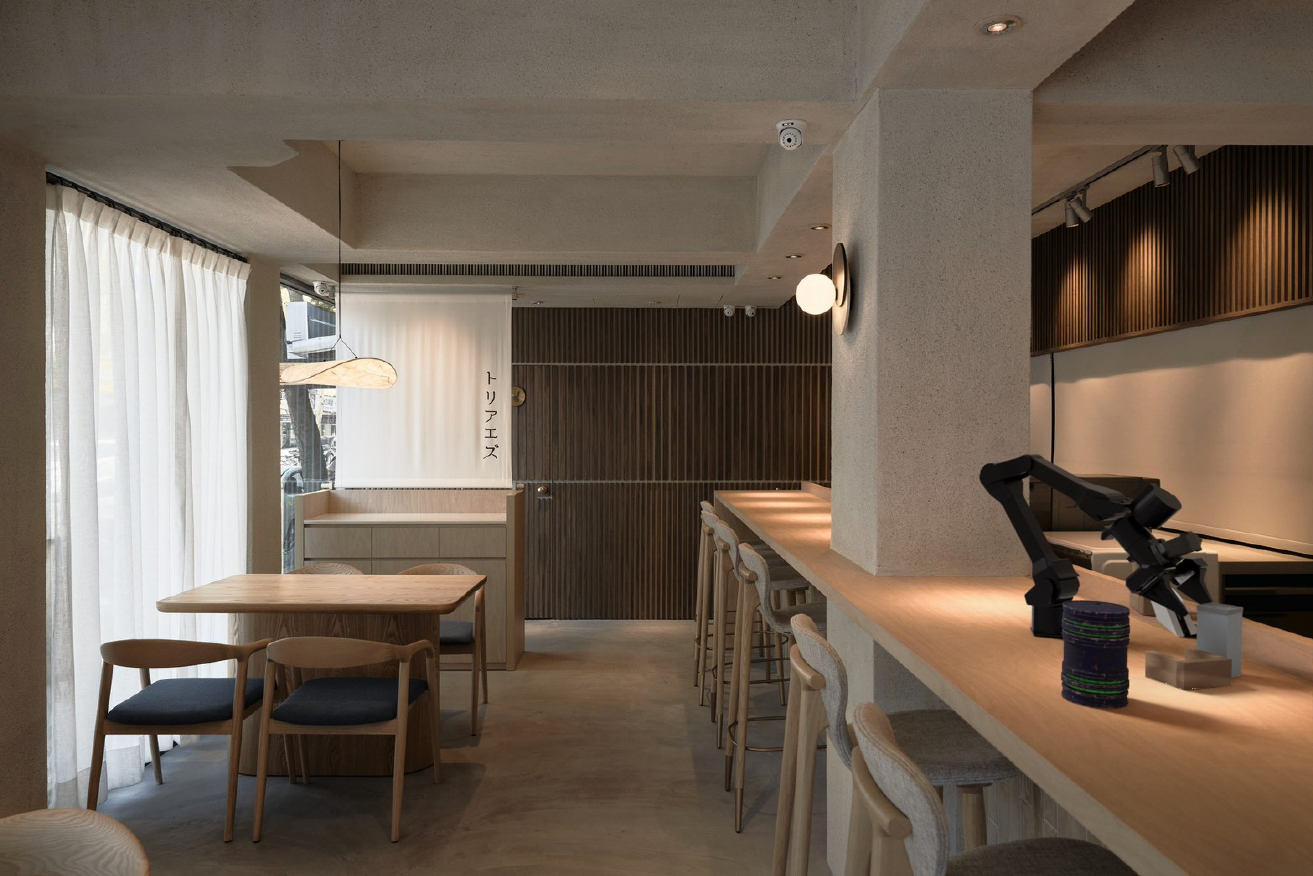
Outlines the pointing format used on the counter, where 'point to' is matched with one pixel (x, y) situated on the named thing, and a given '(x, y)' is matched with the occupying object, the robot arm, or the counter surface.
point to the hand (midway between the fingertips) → (1200, 612)
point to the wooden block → (1141, 600)
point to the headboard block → (1189, 669)
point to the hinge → (1174, 619)
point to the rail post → (1221, 632)
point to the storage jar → (1095, 654)
